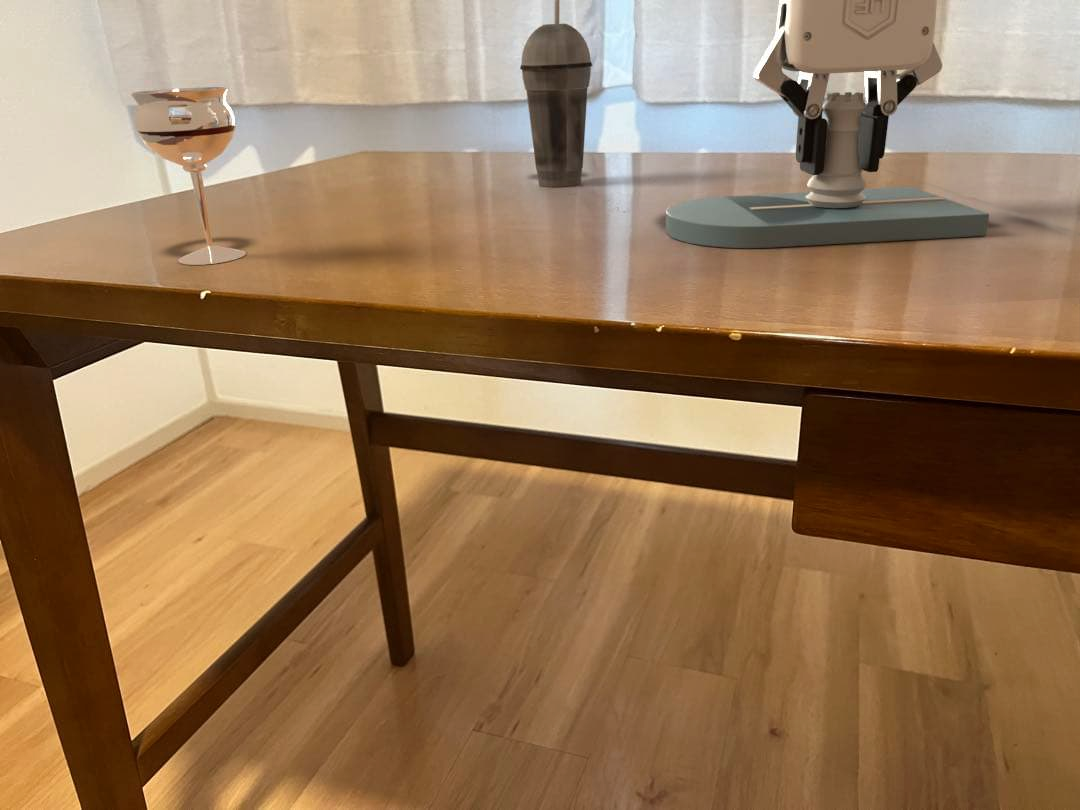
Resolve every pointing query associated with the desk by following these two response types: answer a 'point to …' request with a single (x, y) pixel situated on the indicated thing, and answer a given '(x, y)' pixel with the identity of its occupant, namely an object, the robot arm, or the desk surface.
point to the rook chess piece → (840, 155)
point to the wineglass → (189, 144)
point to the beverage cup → (557, 100)
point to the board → (821, 220)
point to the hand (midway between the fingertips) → (838, 168)
